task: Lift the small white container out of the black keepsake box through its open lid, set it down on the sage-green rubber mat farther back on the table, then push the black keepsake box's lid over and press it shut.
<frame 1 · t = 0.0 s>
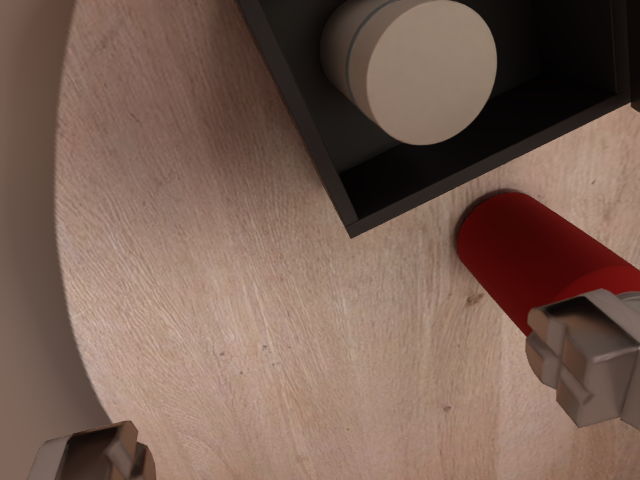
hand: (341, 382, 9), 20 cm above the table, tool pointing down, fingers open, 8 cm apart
beverage can: (493, 228, 34), on the table
black keepsake box: (402, 26, 25), on the table
container: (366, 48, 25), point 1 cm above the table, touching black keepsake box
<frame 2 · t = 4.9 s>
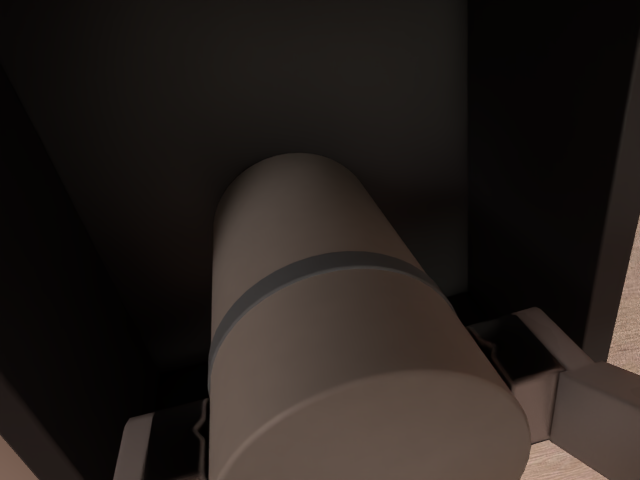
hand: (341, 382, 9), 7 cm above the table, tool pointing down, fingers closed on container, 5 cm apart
black keepsake box: (275, 149, 14), on the table
container: (294, 228, 15), point 1 cm above the table, touching black keepsake box, gripper
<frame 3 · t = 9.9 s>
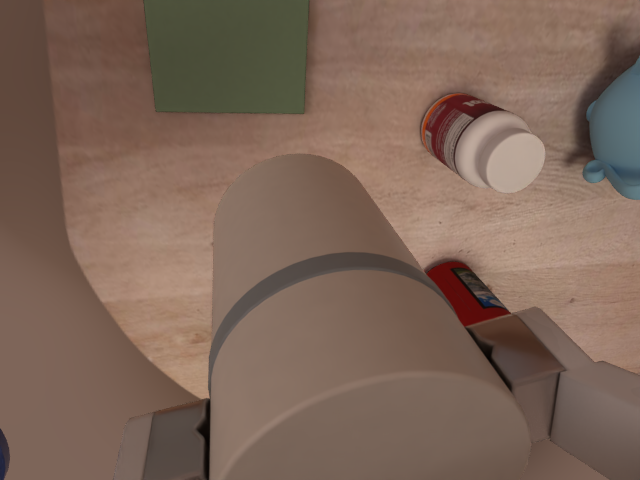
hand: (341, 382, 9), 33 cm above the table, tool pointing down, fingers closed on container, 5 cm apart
beverage can: (441, 281, 52), on the table
mat: (229, 32, 35), on the table
teapot: (631, 116, 46), on the table
pill bottle: (448, 124, 42), on the table
container: (295, 229, 15), point 26 cm above the table, touching gripper
when the fingers open (7 cm above the table, at t = 15.3 s): container stays where it is, resting on mat.
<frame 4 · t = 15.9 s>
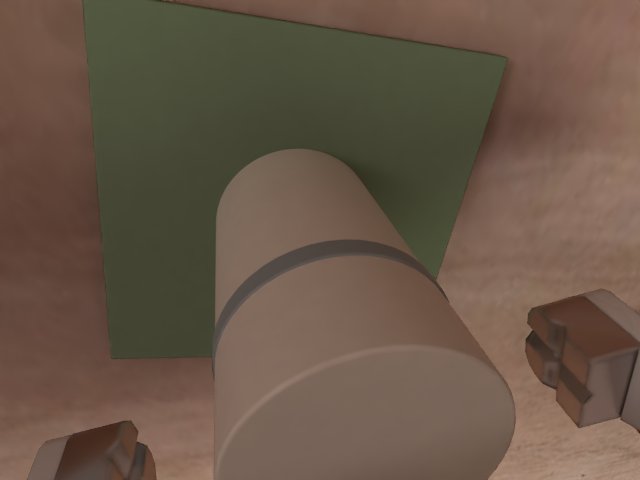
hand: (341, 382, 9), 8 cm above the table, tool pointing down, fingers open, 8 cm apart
mat: (290, 213, 16), on the table
container: (295, 222, 15), point 1 cm above the table, touching mat
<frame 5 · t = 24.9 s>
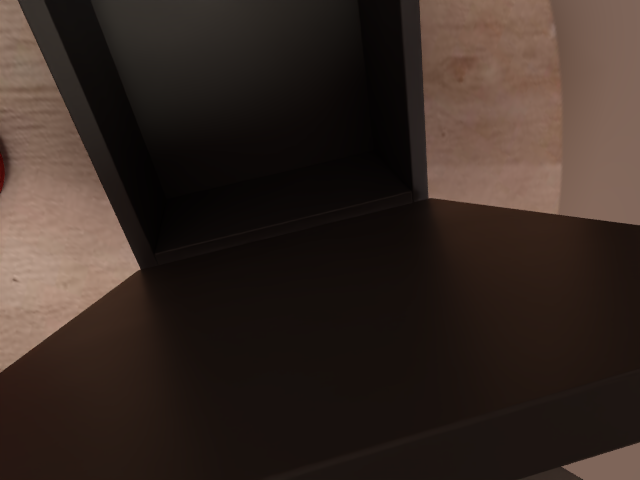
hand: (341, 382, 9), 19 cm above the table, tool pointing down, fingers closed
dark hinged box lid: (307, 283, 12), point 15 cm above the table, hinge at 68.2°
black keepsake box: (239, 40, 23), on the table
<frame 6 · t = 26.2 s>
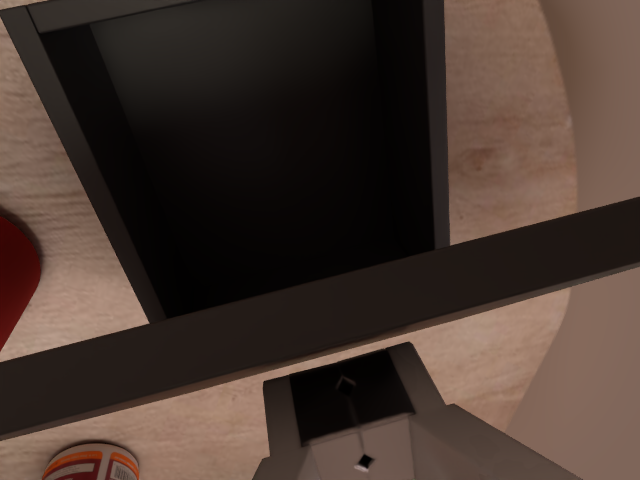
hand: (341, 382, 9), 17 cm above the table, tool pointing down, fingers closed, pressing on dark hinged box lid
dark hinged box lid: (323, 340, 13), point 13 cm above the table, hinge at 44.5°, touching gripper
pill bottle: (96, 465, 33), on the table
black keepsake box: (267, 143, 23), on the table
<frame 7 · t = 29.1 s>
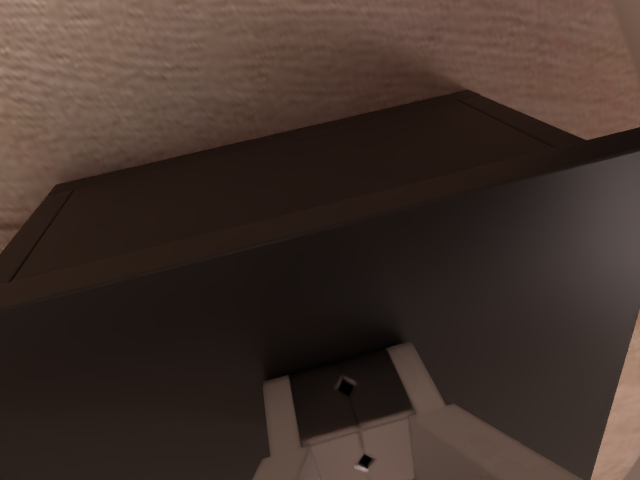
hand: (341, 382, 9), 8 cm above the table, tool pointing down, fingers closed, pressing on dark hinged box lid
black keepsake box: (312, 317, 19), on the table
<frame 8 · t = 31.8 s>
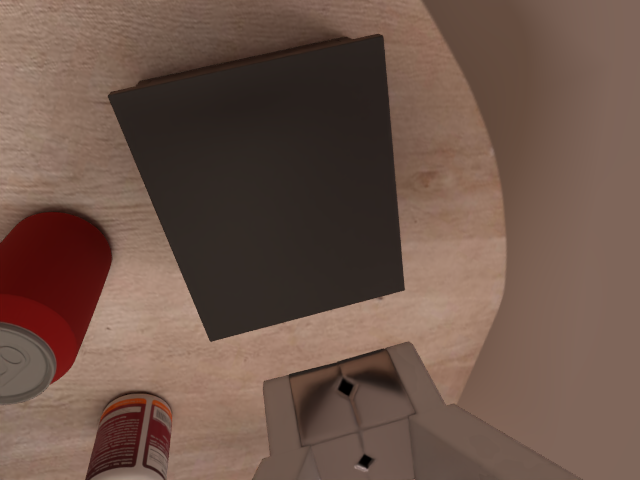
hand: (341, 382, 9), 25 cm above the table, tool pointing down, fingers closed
dark hinged box lid: (283, 208, 27), point 7 cm above the table, hinge at 1.4°
beverage can: (65, 247, 33), on the table
pill bottle: (139, 412, 42), on the table
black keepsake box: (271, 169, 33), on the table
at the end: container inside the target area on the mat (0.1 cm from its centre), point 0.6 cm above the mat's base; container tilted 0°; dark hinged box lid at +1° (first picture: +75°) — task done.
